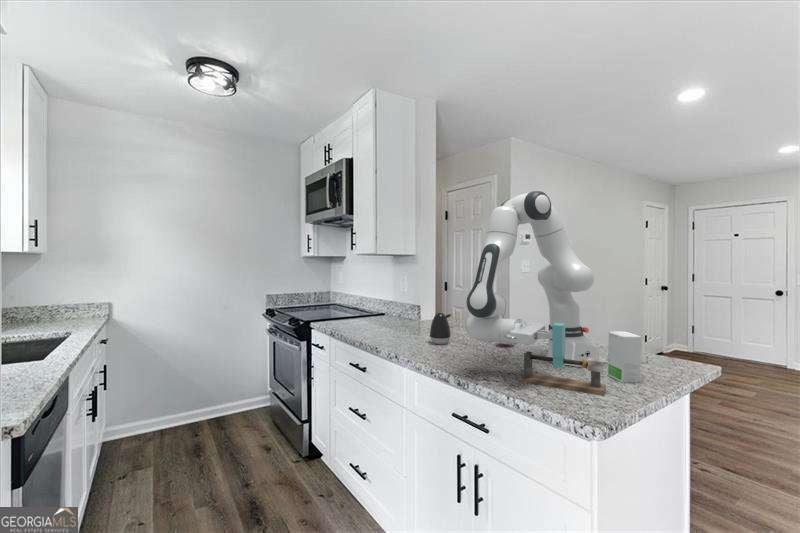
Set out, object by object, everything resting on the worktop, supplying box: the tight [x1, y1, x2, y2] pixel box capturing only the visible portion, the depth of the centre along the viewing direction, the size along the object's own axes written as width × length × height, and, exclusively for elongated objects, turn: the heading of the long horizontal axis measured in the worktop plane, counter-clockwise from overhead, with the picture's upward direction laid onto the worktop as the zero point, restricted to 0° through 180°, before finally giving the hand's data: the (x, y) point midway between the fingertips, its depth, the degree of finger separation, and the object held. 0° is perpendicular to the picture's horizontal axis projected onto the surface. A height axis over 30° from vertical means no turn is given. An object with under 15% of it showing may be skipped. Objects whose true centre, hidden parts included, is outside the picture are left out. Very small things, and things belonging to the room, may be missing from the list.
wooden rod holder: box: [521, 351, 607, 396], centre depth 123 cm, size 24×7×10 cm, turn 57°
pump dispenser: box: [429, 312, 452, 345], centre depth 187 cm, size 10×10×15 cm
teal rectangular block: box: [552, 323, 566, 369], centre depth 124 cm, size 3×5×14 cm, turn 147°
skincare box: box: [607, 330, 642, 384], centre depth 129 cm, size 8×7×16 cm
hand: (553, 335), depth 125 cm, fingers closed, pressing on teal rectangular block
